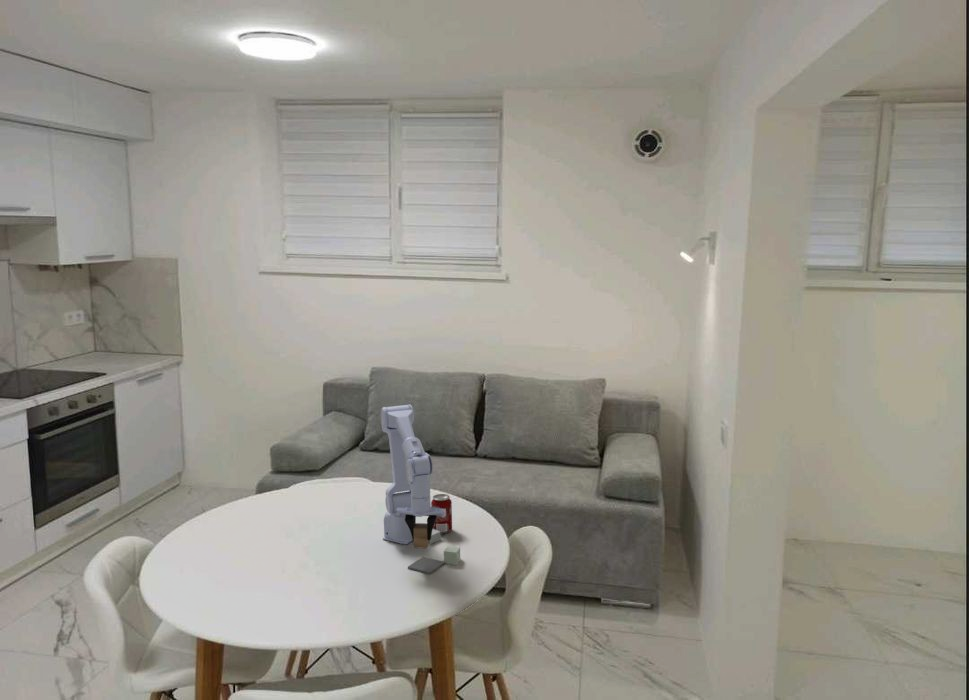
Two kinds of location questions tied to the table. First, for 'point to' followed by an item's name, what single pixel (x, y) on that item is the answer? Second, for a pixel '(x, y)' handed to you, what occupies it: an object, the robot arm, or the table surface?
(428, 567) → the slate coaster
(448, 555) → the sage block
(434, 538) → the grey plastic box
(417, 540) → the walnut block
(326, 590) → the table surface
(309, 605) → the table surface
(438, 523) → the soda can
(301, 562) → the table surface
